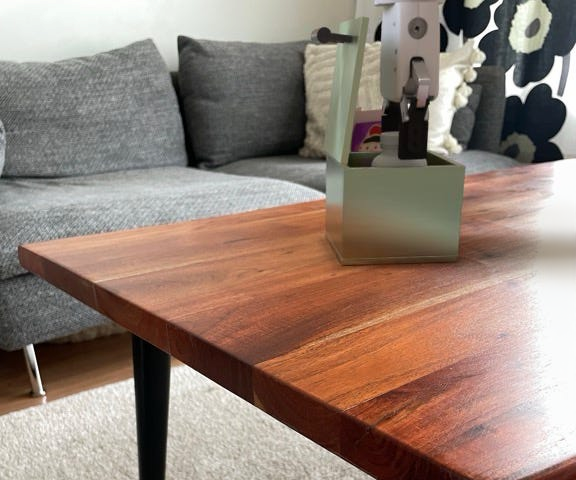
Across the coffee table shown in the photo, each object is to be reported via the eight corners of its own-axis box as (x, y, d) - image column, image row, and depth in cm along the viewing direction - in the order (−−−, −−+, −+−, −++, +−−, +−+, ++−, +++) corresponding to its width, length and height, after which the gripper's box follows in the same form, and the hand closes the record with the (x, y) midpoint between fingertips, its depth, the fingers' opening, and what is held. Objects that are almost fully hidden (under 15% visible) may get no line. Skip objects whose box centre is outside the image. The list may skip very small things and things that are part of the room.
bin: (425, 233, 97) (431, 150, 92) (457, 261, 84) (466, 166, 79) (325, 236, 96) (326, 152, 92) (341, 265, 83) (343, 168, 78)
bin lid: (346, 23, 86) (308, 17, 85) (369, 17, 72) (324, 11, 72) (329, 148, 91) (293, 144, 91) (347, 164, 78) (305, 159, 78)
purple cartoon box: (347, 223, 103) (350, 112, 97) (313, 216, 108) (314, 109, 102) (402, 213, 110) (407, 108, 103) (367, 206, 115) (370, 105, 109)
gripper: (467, -18, 71) (454, 162, 78) (423, -5, 86) (415, 144, 93) (392, -17, 70) (386, 165, 77) (361, -4, 86) (358, 146, 93)
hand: (402, 153), depth 85 cm, fingers open, 9 cm apart
